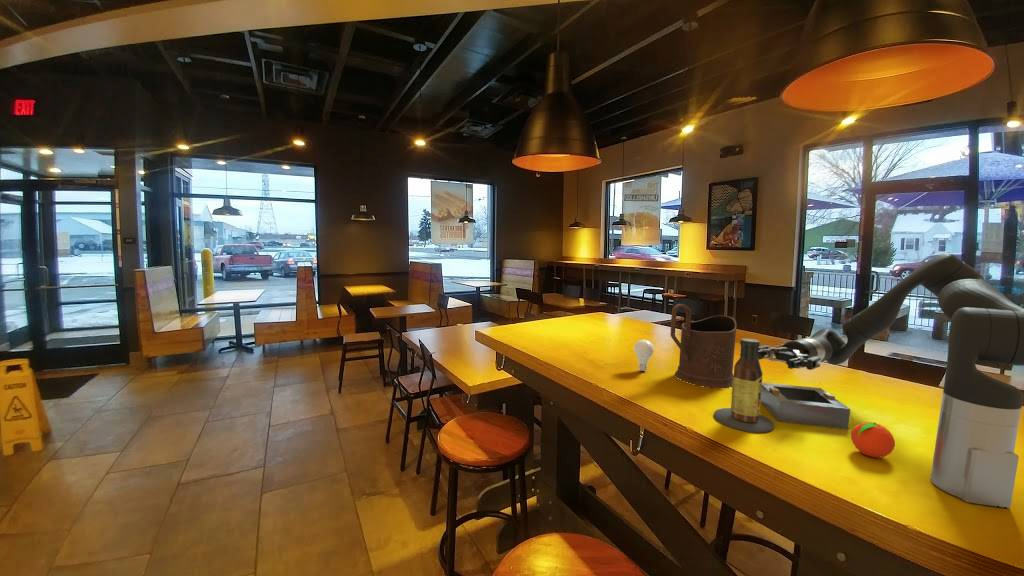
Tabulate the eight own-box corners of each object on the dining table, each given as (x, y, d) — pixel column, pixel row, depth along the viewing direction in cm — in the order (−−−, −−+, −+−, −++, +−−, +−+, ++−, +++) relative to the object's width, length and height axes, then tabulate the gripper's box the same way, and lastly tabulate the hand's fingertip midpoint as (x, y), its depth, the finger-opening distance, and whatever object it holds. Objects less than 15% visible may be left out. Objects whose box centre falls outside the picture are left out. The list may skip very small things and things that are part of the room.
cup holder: (750, 385, 129) (757, 306, 127) (691, 393, 121) (697, 309, 118) (703, 367, 147) (708, 298, 144) (648, 374, 138) (653, 300, 135)
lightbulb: (628, 369, 142) (630, 338, 141) (643, 367, 145) (644, 337, 144) (641, 375, 136) (643, 342, 135) (656, 373, 139) (658, 341, 138)
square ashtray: (848, 429, 99) (850, 405, 99) (777, 421, 103) (780, 398, 102) (818, 405, 114) (820, 385, 113) (758, 399, 117) (759, 379, 117)
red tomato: (873, 466, 82) (877, 432, 82) (837, 449, 89) (841, 418, 88) (901, 461, 85) (905, 428, 84) (864, 445, 91) (868, 414, 90)
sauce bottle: (763, 425, 99) (771, 344, 96) (734, 422, 100) (741, 342, 98) (752, 414, 105) (760, 338, 103) (726, 411, 106) (732, 336, 104)
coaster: (782, 436, 95) (783, 433, 95) (720, 428, 98) (721, 426, 98) (763, 413, 107) (763, 411, 107) (709, 407, 110) (709, 405, 110)
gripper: (777, 334, 120) (745, 339, 112) (834, 345, 108) (803, 352, 100) (774, 359, 121) (743, 366, 113) (831, 373, 109) (800, 382, 101)
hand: (771, 360), depth 106 cm, fingers open, 8 cm apart
